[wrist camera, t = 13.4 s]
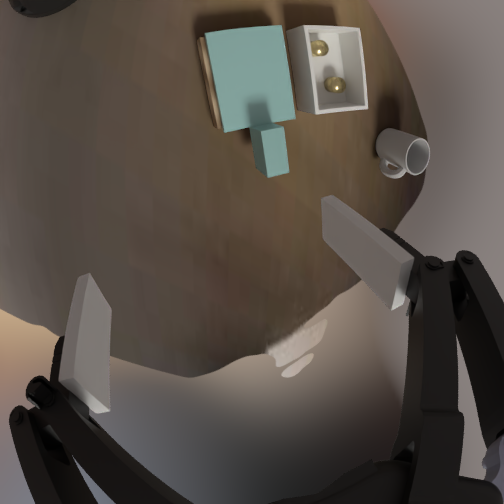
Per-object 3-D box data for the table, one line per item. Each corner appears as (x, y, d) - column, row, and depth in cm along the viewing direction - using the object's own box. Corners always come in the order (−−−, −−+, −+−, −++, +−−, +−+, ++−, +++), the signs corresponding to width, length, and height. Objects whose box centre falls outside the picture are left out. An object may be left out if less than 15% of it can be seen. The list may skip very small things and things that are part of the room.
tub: (285, 30, 35) (303, 25, 31) (338, 31, 37) (359, 28, 32) (297, 110, 43) (315, 114, 39) (346, 104, 45) (367, 108, 40)
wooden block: (196, 40, 33) (199, 37, 31) (274, 31, 35) (281, 28, 33) (213, 126, 41) (217, 129, 39) (286, 111, 43) (294, 113, 41)
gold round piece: (323, 77, 41) (330, 77, 39) (336, 76, 41) (345, 76, 39) (324, 92, 42) (332, 93, 40) (338, 91, 43) (346, 92, 41)
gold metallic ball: (304, 41, 36) (312, 39, 34) (319, 41, 37) (327, 40, 35) (307, 57, 38) (314, 56, 36) (321, 56, 38) (329, 56, 37)
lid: (203, 34, 30) (211, 26, 26) (277, 26, 32) (294, 20, 28) (230, 173, 43) (241, 184, 38) (296, 157, 45) (313, 166, 40)
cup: (404, 140, 53) (434, 152, 46) (380, 177, 56) (409, 193, 49) (386, 120, 49) (418, 130, 42) (361, 159, 52) (392, 173, 45)
